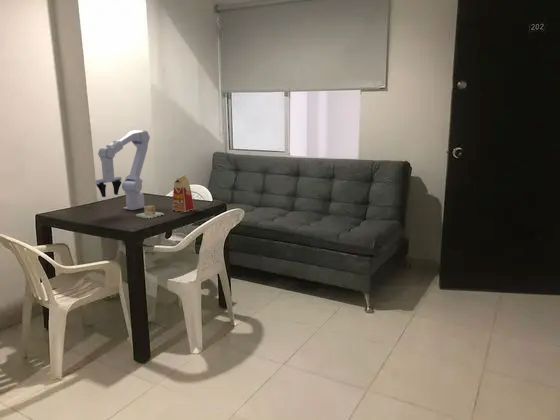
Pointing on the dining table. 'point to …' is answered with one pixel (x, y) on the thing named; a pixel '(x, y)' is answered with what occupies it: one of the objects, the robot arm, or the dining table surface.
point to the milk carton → (182, 195)
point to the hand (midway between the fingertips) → (110, 195)
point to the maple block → (149, 210)
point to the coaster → (149, 215)
